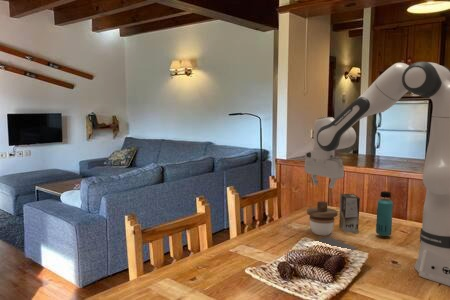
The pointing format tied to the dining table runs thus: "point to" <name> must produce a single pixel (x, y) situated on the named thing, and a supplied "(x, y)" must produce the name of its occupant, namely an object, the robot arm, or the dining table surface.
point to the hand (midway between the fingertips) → (323, 186)
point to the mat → (335, 243)
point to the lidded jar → (321, 225)
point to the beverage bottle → (384, 215)
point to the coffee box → (349, 213)
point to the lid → (322, 211)
